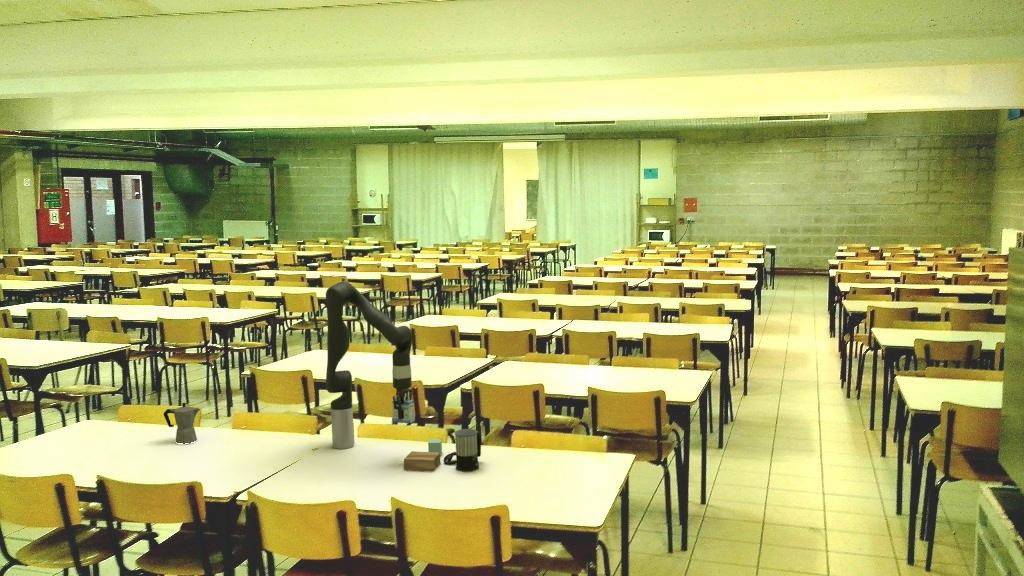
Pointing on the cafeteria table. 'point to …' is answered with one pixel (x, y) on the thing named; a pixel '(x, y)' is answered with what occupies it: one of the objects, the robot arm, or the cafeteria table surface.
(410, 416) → the medicine box
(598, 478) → the cafeteria table surface
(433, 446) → the teal block
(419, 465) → the walnut block
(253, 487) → the cafeteria table surface
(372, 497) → the cafeteria table surface
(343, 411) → the robot arm
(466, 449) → the milk frother
